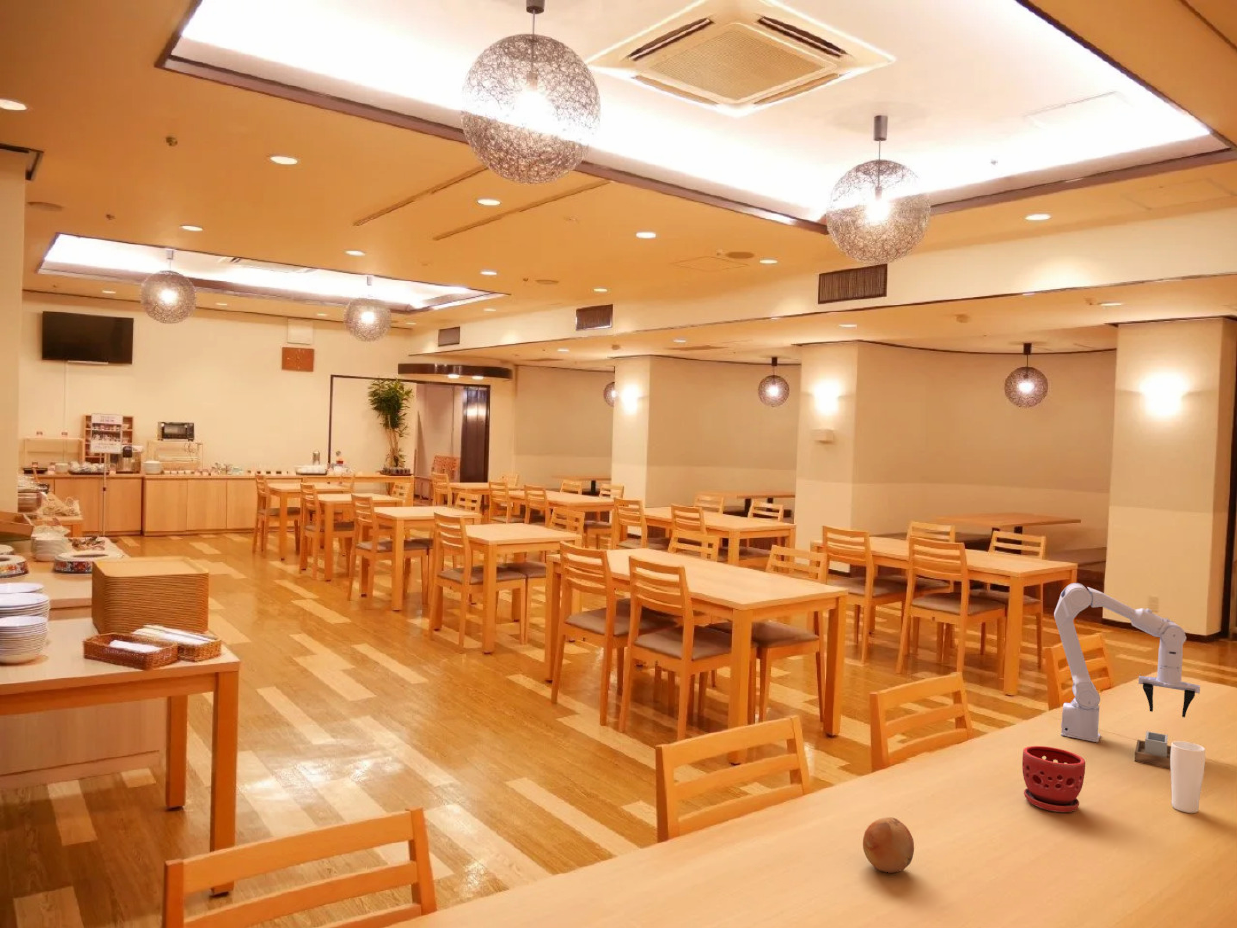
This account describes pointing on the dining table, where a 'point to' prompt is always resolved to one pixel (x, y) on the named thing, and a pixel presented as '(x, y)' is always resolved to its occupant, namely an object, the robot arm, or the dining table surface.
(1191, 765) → the white cup
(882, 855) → the onion
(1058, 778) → the plant pot
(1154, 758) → the walnut crate
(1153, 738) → the small crate
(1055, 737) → the dining table surface
